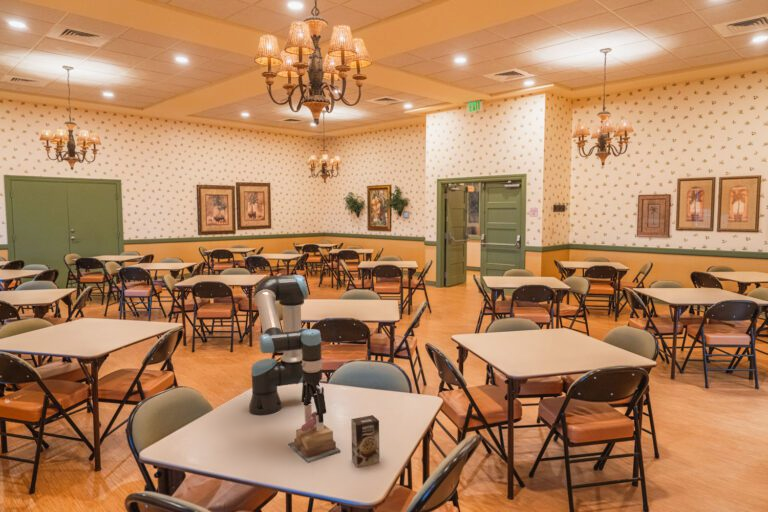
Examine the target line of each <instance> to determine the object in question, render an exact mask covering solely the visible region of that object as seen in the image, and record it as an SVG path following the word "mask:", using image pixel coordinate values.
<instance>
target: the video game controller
mask: <svg viewBox="0 0 768 512" xmlns="http://www.w3.org/2000/svg"><path fill="white" fill-rule="evenodd" d="M316 414H317V411H316V410H315V411H314V412H312V415H311V417H310V418H309V420H308V421H307V422H304V424H302V425H301V427H300V429H301V430H302V431H307V430H309V429H310V428H311V429H313V427H314V425H316Z"/></svg>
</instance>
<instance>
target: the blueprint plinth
mask: <svg viewBox="0 0 768 512" xmlns="http://www.w3.org/2000/svg"><path fill="white" fill-rule="evenodd" d="M295 432H296V433H295V434H296V435H295V437H296V438H294V440H293V441H292V442H289V443H287V445H288V447H289V446H290V449H292V450H293V452H295V453H296V454H297V455H298V456H299V457H300V458H302V459H303V460H304V461H305V462H306V463H307V464H309V463H313V462H315V461H318V460H322V459H325V458H327V457H330V456H333V455H336V454H338V453H341V449H340V448H339V447H337V446H336V443H337V442H336V441H335V440H334V431H333V430H332V429H331V428H329V427H327V425H325V424H324V429H323V430H320V431H317V430H316V425H314V427H313V429H311V428H310V429H309V430H307V431H302V430H301V428H297V429H296V430H295Z"/></svg>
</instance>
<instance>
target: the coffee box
mask: <svg viewBox="0 0 768 512" xmlns="http://www.w3.org/2000/svg"><path fill="white" fill-rule="evenodd" d="M350 422H351V423H350V424H351V429H350V430H351V460H352V462H353V463H354V465H355V466H356V468H360V467H361V468H362V467H365V466H368V465H374V464H379V463H380V454H381V452H380V420H379V419H378V418H377V417H375V416H374V414H373V415H372V414H371V415H366V416H360V417H355V418H351V420H350Z"/></svg>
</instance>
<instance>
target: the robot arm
mask: <svg viewBox="0 0 768 512" xmlns="http://www.w3.org/2000/svg"><path fill="white" fill-rule="evenodd" d="M253 291H254V292H253V301H254V302H253V303H254V304H255V305H256V306H257V309H258V314H259V320H260V325H261V329H262V334H261V335H259V338H258V339H259V340H258V341H259V350H260V352H261V353H262V354H274V353H281V352H282V353H283V354H282V355H281V356H280V360H279V361H277V360H276V359H275V358H264V359H261V360H257V361H255V363H253V364H252V366H251V374H250V375H251V390H252V391H251V392H252V395H251V398H250V402H249V406H248V408H249V409H248V411H249V412H250V413H251V414H253V415H258V416H261V415H262V416H264V415H271V414H275V413H276V412H279V411H280V410H282V401H281V398H280V395H279V393H278V387H281V386H289V385H291V386H292V385H298V384H302V390H301V398H300V399H301V403H303V406H304V423H306V422H307V421H308V420H309V418H310V417H311V415H312V413H313V412H312V405H311V404H312V399H313V402H314V406H315V412H316V411H317V414H316V430H317V431H320V430H323V429H324V425H325V424H324V415H325V414H327V408H326V400H325V394H324V393H325V389H324V387H323V386H322V387H321V386H320V381H321V380H322V379H323V370H322V369H323V362H322V361H323V360H322V359H323V358H322V337H321V331H320V329H316V328H312V329H311V328H306V327H304V328H303V327H302V306H303V305H304V304H305V300H306V299H308V297H309V296H308V295H309V294H308V292H309V291H308V285H307V283H306V279H305V277H304V276H303V275H302V274H286V275H284V274H283V275H272V276H271V275H270V276H267V277H265V278H264V279H262V280H261V281H260V282H258V284H257V285H256V287H255V289H254V290H253ZM275 302H279V305H280V306H281V307H282V326H281V321H280V318H279V313H278V309H277V306H276V303H275Z"/></svg>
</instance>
